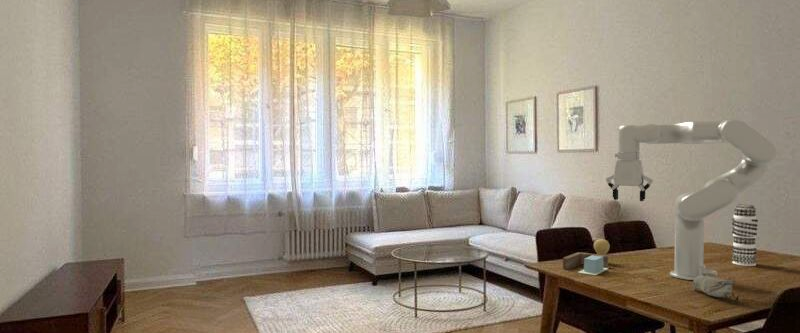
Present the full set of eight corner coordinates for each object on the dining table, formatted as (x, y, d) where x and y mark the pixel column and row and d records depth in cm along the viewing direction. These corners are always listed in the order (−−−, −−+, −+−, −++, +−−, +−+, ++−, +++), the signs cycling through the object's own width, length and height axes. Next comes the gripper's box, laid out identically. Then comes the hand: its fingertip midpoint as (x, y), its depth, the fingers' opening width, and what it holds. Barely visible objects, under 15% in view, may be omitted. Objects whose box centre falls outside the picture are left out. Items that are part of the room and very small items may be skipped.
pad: (608, 268, 206) (608, 268, 206) (595, 275, 195) (595, 274, 195) (591, 266, 211) (591, 265, 211) (577, 272, 199) (577, 272, 199)
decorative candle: (749, 261, 220) (750, 203, 219) (762, 266, 211) (763, 206, 210) (726, 261, 221) (727, 203, 220) (738, 265, 212) (739, 205, 211)
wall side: (607, 266, 210) (608, 255, 210) (606, 267, 209) (606, 256, 208) (577, 262, 218) (578, 252, 218) (576, 263, 217) (576, 252, 216)
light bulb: (607, 264, 214) (607, 240, 214) (591, 262, 218) (591, 239, 218) (611, 262, 219) (611, 238, 219) (596, 260, 223) (596, 237, 223)
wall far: (582, 263, 217) (582, 252, 217) (567, 269, 205) (567, 258, 205) (577, 262, 218) (578, 252, 218) (562, 268, 206) (562, 257, 206)
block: (595, 273, 198) (595, 260, 198) (584, 271, 201) (584, 258, 201) (603, 269, 205) (603, 256, 205) (592, 267, 208) (592, 255, 208)
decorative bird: (701, 290, 174) (701, 268, 174) (742, 304, 158) (743, 280, 158) (687, 291, 173) (688, 269, 173) (728, 305, 157) (728, 281, 157)
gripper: (603, 156, 203) (603, 199, 203) (650, 156, 192) (649, 202, 192) (609, 156, 209) (609, 198, 209) (655, 156, 197) (655, 200, 198)
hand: (628, 200), depth 200 cm, fingers open, 9 cm apart
